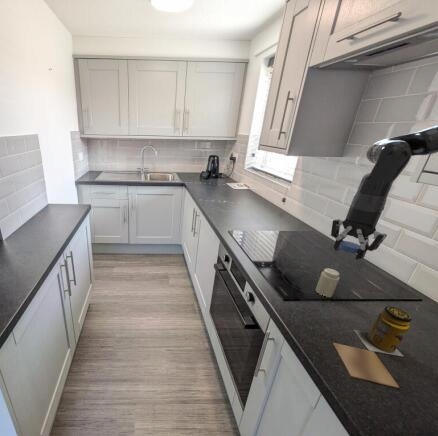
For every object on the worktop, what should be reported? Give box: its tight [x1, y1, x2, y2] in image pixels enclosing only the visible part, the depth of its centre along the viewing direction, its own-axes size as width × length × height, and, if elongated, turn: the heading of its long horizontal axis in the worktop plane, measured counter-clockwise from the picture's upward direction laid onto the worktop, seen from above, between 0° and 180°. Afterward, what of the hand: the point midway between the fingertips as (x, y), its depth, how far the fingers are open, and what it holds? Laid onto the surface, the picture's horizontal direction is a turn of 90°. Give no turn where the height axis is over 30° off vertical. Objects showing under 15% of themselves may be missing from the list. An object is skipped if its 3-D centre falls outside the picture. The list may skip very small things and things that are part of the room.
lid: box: [339, 240, 361, 255], centre depth 77 cm, size 6×6×2 cm
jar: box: [314, 267, 340, 298], centre depth 87 cm, size 5×5×10 cm
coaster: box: [332, 342, 400, 389], centre depth 61 cm, size 10×10×1 cm
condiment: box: [353, 305, 413, 357], centre depth 66 cm, size 7×8×12 cm
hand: (347, 254), depth 78 cm, fingers closed on lid, 5 cm apart
